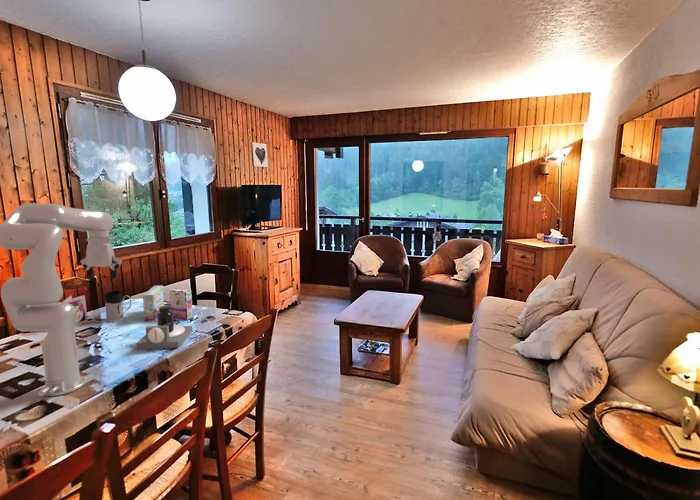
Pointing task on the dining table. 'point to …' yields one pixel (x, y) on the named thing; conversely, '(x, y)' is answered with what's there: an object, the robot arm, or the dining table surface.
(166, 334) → the dial scale
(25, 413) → the dining table surface
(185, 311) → the candy bar box
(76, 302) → the greeting card
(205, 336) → the dining table surface
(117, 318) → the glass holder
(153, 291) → the snack box
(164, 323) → the supplement bottle
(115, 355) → the dining table surface
